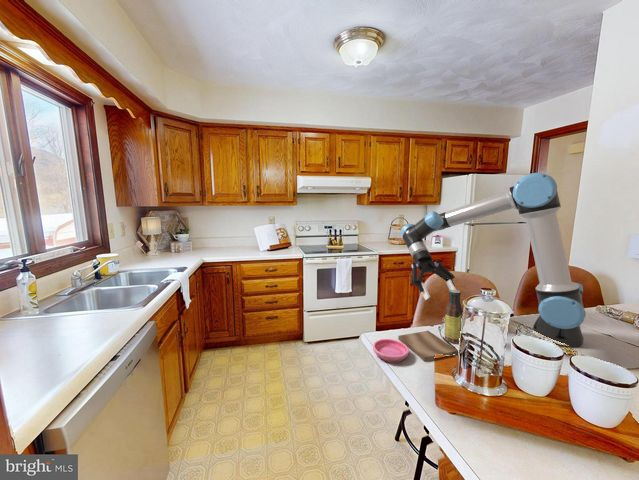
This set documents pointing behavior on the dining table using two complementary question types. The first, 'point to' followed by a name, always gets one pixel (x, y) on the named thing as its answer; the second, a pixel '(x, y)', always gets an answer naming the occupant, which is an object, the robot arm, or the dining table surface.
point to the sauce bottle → (453, 317)
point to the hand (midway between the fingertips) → (442, 296)
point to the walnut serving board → (426, 345)
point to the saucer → (390, 350)
